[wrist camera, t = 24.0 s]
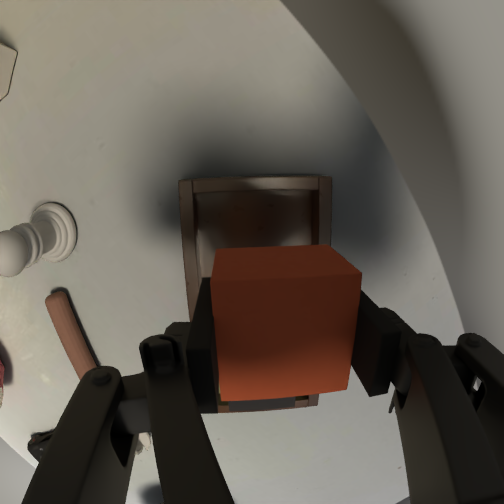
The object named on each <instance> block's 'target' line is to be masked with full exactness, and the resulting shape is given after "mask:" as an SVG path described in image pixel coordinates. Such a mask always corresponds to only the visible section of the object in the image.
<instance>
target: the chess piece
mask: <svg viewBox="0 0 504 504" xmlns="http://www.w3.org/2000/svg"><path fill="white" fill-rule="evenodd" d="M75 243H76V227H75V223H74V221H73V218H72V217H71V215H70V214H69V212H68V211H67V210H66V209H65V208H64V207H62V206H60V205H58V204H54V203H47V204H44V205H41V206H40V207H39V208H38V209H37V210H35V212H34V213H33V215H32V217H31V219H30V223H22V224H20V225H16V226H14V227H12V228H11V229H10V230H5V231H1V232H0V276H3V277H13V276H16V275H18V274H19V273H20V272H21V271H22V270H23V269H24V268H28V267H30V266H32V265H33V264H36V263H37V262H38V261H39V260H40V258H42V259H44V260H46V261H49V262H60V261H63V260H65V259H66V258H67V257H68V256H69V255H70V254H71V252H72V251H73V249H74V246H75Z"/></svg>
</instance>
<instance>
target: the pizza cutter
mask: <svg viewBox="0 0 504 504" xmlns="http://www.w3.org/2000/svg"><path fill="white" fill-rule="evenodd" d="M45 304H46V307H47V310H48V312H49V315H50V317H51V319H52V322H53V324H54V327H55V329H56V331H57V333H58V336H59V338H60V340H61V342H62V345H63V347H64V349H65V351H66V353H67V355H68V357H69V359H70V361H71V363H72V365H73V367H74V369H75V371H76V373H77V375H78V377H79V379H80V380H81V379H82V377H83V375H84V374H85V373H86V372H87V371H89V370H91V369H92V368H95V367H97V366H96V364H95V362H94V360H93V358H92V356H91V353H90V351H89V349H88V347H87V345H86V343H85V340H84V338H83V336H82V333H81V331H80V329H79V326H78V324H77V322H76V319H75V317H74V314H73V312H72V309H71V307H70V304H69V301H68V299H67V296H66V294H65V293H64V292H60V291H59V292H55V293H53V294H51V295H49V296H48V297H47V298H46V299H45ZM150 444H151V441H150V436H149V434H148V432H146V433H140V434H139V439H138V443H137V448H136V452H135V454H140V453H141V452H142V450H143V447H145V448H146V450H147V451H148V449H149V447H150Z"/></svg>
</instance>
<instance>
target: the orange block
mask: <svg viewBox="0 0 504 504" xmlns="http://www.w3.org/2000/svg"><path fill="white" fill-rule="evenodd" d="M361 281H362V273H361V272H360V271H359V270H358V269H357V268H355V267H354V266H353V265H352V264H351V263H349V262H348V261H347V260H346V259H345V258H344V257H342V256H341V255H340V254H339V253H337V252H336V251H335V250H334V249H333V248H331V247H330V246H329V245H328V244H324V245H298V246H273V247H247V248H223V249H216V252H215V258H214V263H213V269H212V274H211V280H210V286H211V299H212V312H213V316H214V326H215V337H216V348H217V358H218V368H219V386H220V395H221V401H242V400H259V399H273V398H284V397H295V396H304V395H312V394H320V393H328V392H335V391H341V390H346V389H347V386H348V380H349V374H350V368H351V359H352V353H353V346H354V339H355V331H356V323H357V315H358V306H359V301H360V292H361Z"/></svg>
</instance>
